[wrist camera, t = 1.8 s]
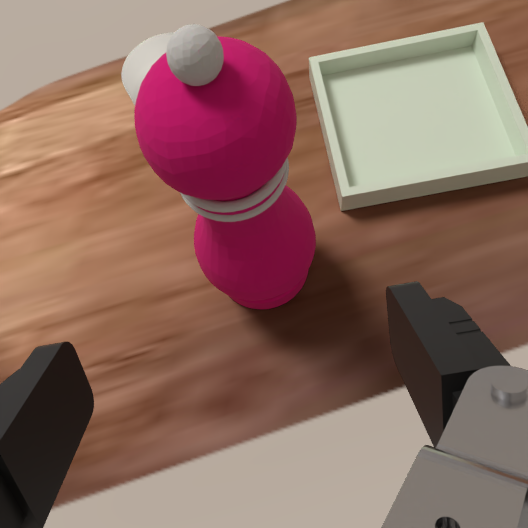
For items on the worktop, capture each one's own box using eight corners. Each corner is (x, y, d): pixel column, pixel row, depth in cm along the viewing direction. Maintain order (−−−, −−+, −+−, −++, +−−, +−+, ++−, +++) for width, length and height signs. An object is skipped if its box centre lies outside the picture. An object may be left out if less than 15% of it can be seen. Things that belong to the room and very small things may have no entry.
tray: (340, 211, 34) (342, 196, 32) (309, 77, 38) (308, 57, 36) (528, 176, 33) (541, 159, 31) (474, 44, 37) (483, 22, 35)
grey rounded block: (153, 162, 37) (123, 112, 31) (149, 99, 39) (120, 42, 33) (230, 147, 36) (213, 94, 31) (221, 85, 39) (204, 24, 33)
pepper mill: (216, 217, 34) (95, -48, 16) (317, 218, 34) (314, -61, 15) (205, 315, 32) (46, 138, 13) (314, 319, 31) (306, 135, 12)
